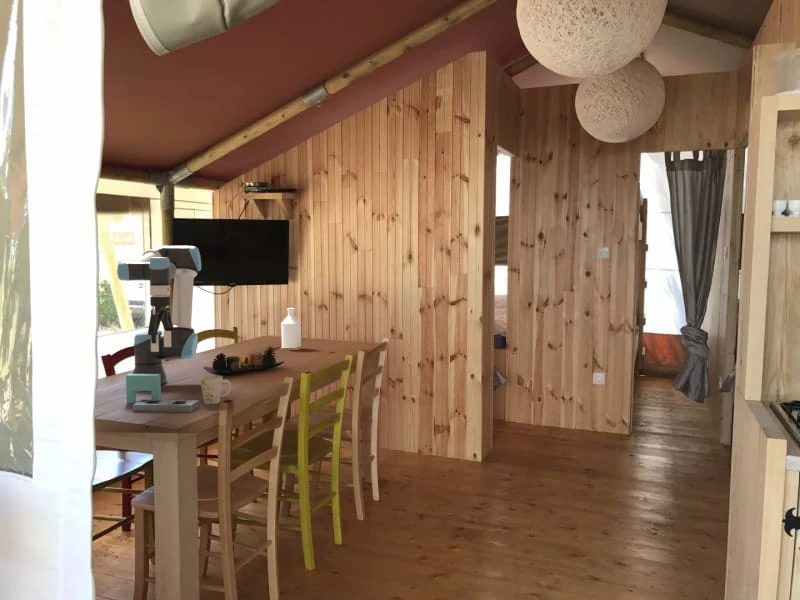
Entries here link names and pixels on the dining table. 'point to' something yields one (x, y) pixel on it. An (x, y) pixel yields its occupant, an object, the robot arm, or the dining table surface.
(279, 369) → the dining table surface
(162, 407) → the block
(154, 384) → the panel
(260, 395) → the dining table surface
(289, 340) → the bottle
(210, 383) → the mug
